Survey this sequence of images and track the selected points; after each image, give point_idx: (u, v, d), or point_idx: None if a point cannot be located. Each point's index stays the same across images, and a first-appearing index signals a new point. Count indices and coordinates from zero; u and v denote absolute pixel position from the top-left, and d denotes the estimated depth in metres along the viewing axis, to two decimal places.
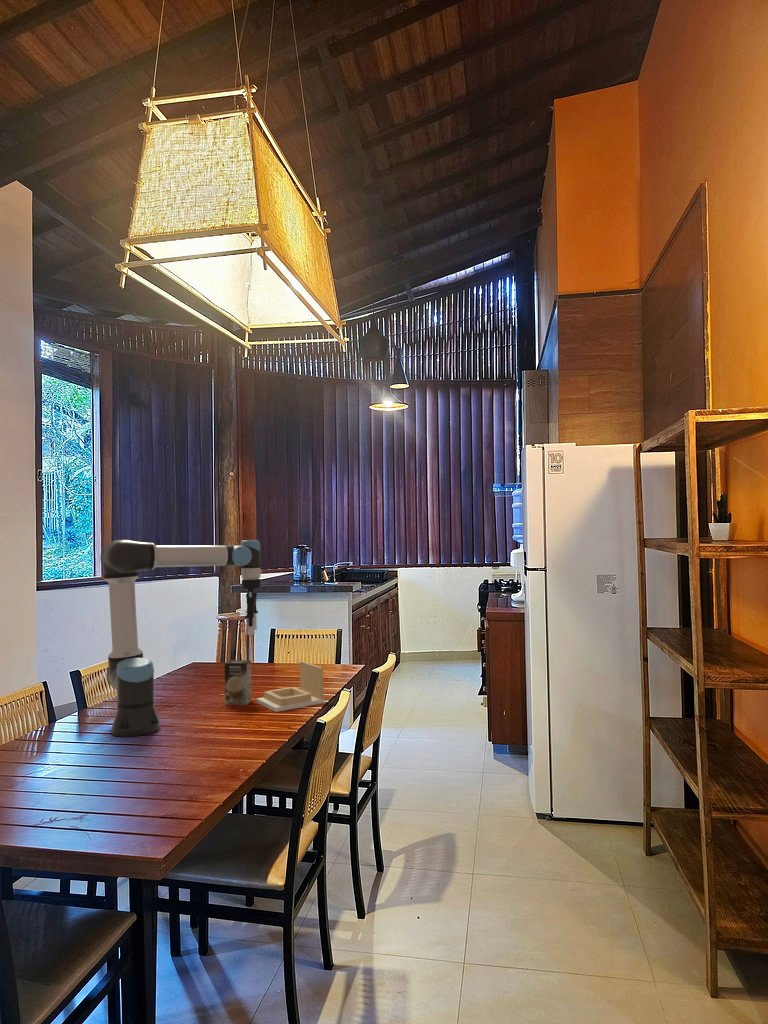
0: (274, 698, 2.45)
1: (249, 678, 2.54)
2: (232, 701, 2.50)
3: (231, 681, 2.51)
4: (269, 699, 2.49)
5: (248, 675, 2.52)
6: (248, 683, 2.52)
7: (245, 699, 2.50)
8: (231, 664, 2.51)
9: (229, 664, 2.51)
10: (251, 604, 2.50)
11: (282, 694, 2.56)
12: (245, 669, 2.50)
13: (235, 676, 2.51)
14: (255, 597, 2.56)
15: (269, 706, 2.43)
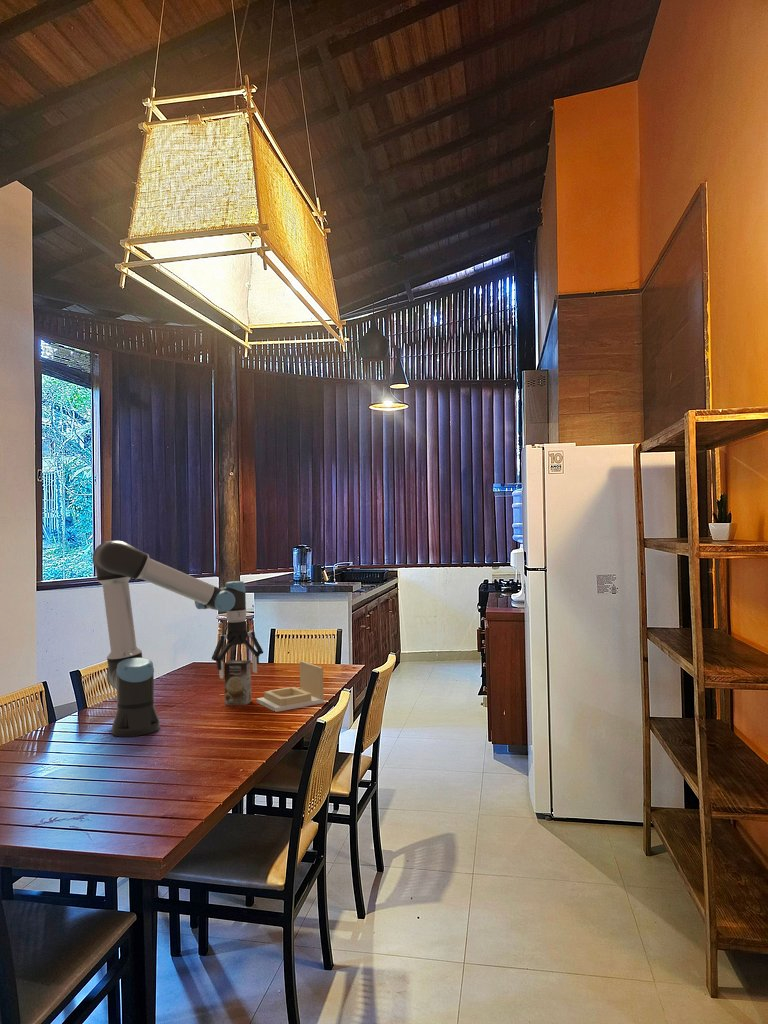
0: (274, 698, 2.45)
1: (249, 678, 2.54)
2: (232, 701, 2.50)
3: (231, 681, 2.51)
4: (269, 699, 2.49)
5: (248, 676, 2.52)
6: (248, 683, 2.52)
7: (245, 699, 2.50)
8: (231, 664, 2.51)
9: (229, 664, 2.51)
10: (217, 648, 2.49)
11: (282, 694, 2.56)
12: (245, 669, 2.50)
13: (235, 676, 2.51)
14: (232, 640, 2.52)
15: (269, 706, 2.43)
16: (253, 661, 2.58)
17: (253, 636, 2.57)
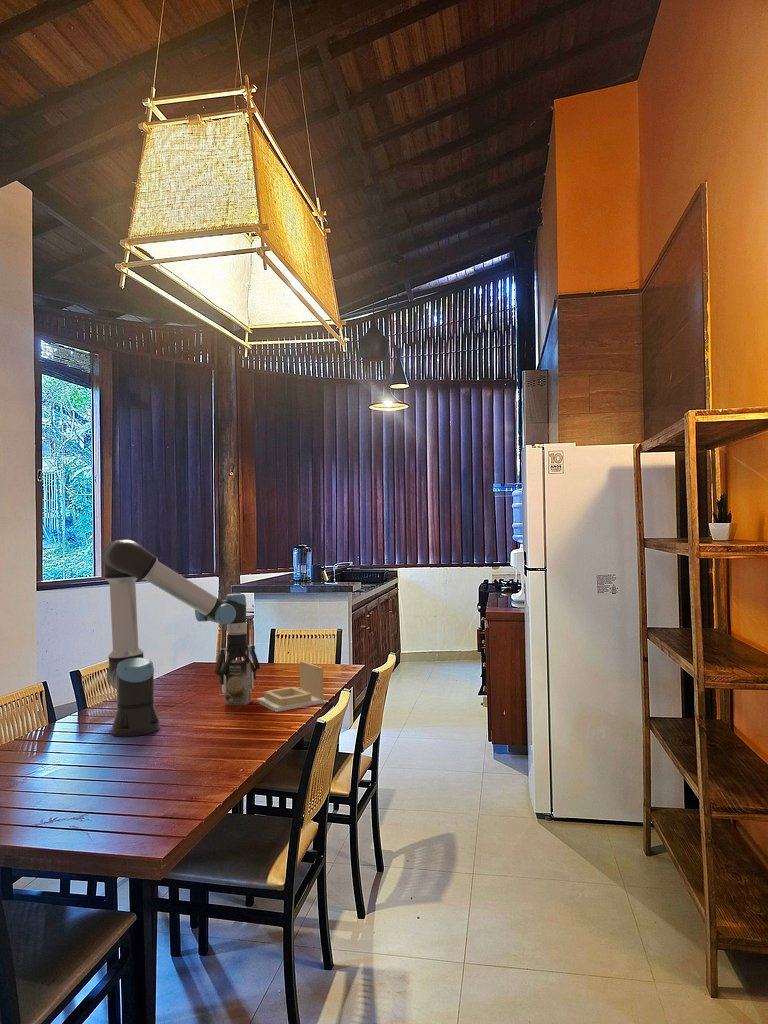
0: (274, 698, 2.45)
1: (249, 678, 2.54)
2: (232, 701, 2.50)
3: (231, 681, 2.51)
4: (269, 699, 2.49)
5: (248, 675, 2.52)
6: (248, 683, 2.52)
7: (245, 698, 2.50)
8: (231, 664, 2.51)
9: None
10: (218, 662, 2.49)
11: (282, 694, 2.56)
12: (245, 669, 2.50)
13: (235, 676, 2.51)
14: (233, 653, 2.51)
15: (269, 706, 2.43)
16: None
17: (253, 650, 2.56)
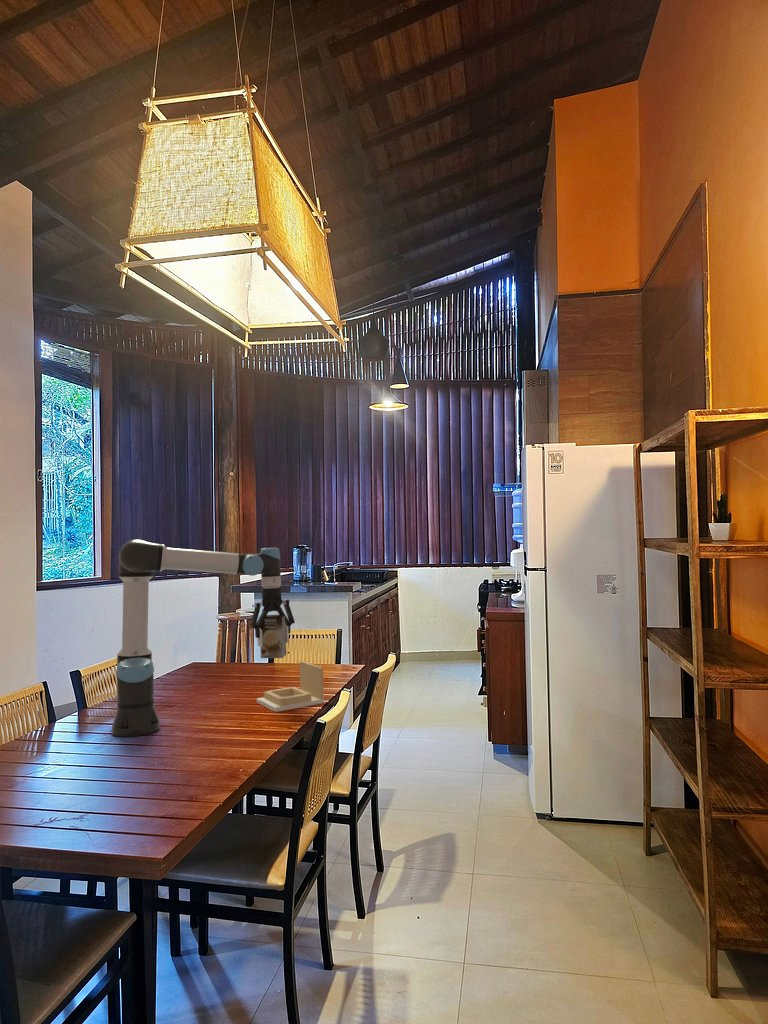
0: (274, 698, 2.45)
1: (284, 632, 2.53)
2: (268, 654, 2.50)
3: (266, 635, 2.50)
4: (269, 699, 2.49)
5: (283, 629, 2.52)
6: (283, 637, 2.52)
7: (282, 652, 2.49)
8: (266, 617, 2.50)
9: None
10: (254, 615, 2.48)
11: (282, 694, 2.56)
12: (281, 622, 2.49)
13: (270, 630, 2.50)
14: (268, 607, 2.50)
15: (269, 706, 2.43)
16: None
17: (287, 604, 2.56)
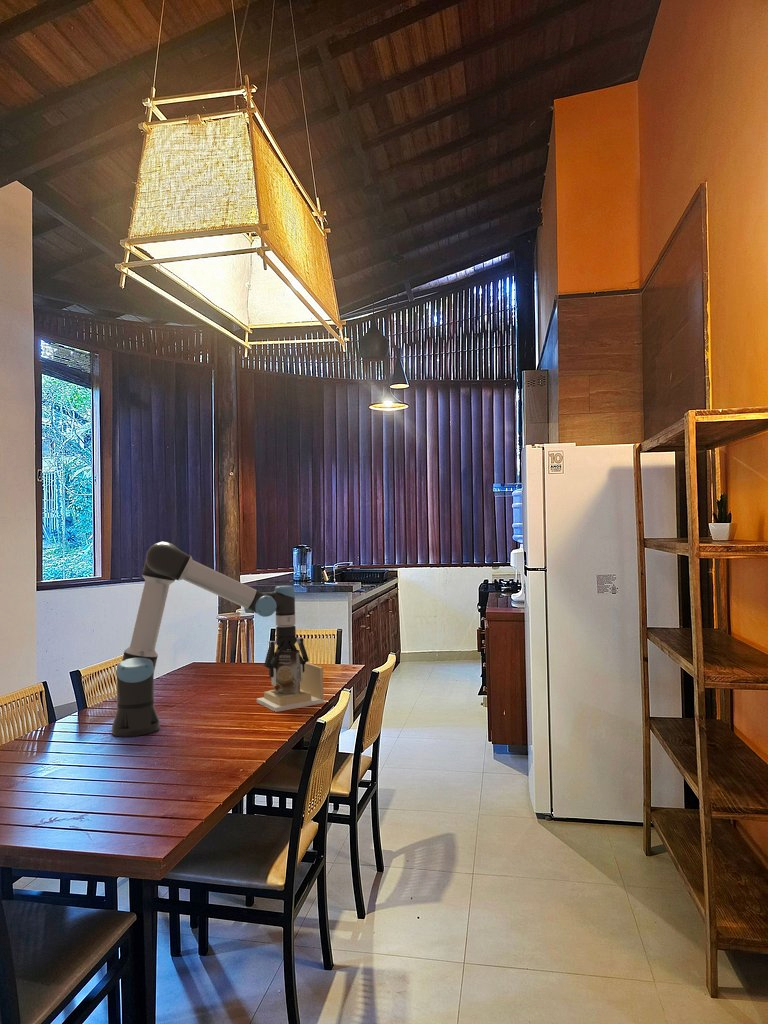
0: (274, 698, 2.45)
1: (298, 667, 2.51)
2: (281, 690, 2.48)
3: (280, 671, 2.48)
4: (269, 699, 2.49)
5: (297, 665, 2.50)
6: (297, 672, 2.50)
7: (295, 688, 2.47)
8: (281, 653, 2.49)
9: None
10: (268, 654, 2.47)
11: (282, 694, 2.56)
12: (295, 658, 2.48)
13: (284, 666, 2.48)
14: (282, 646, 2.49)
15: (269, 706, 2.43)
16: None
17: (301, 642, 2.54)
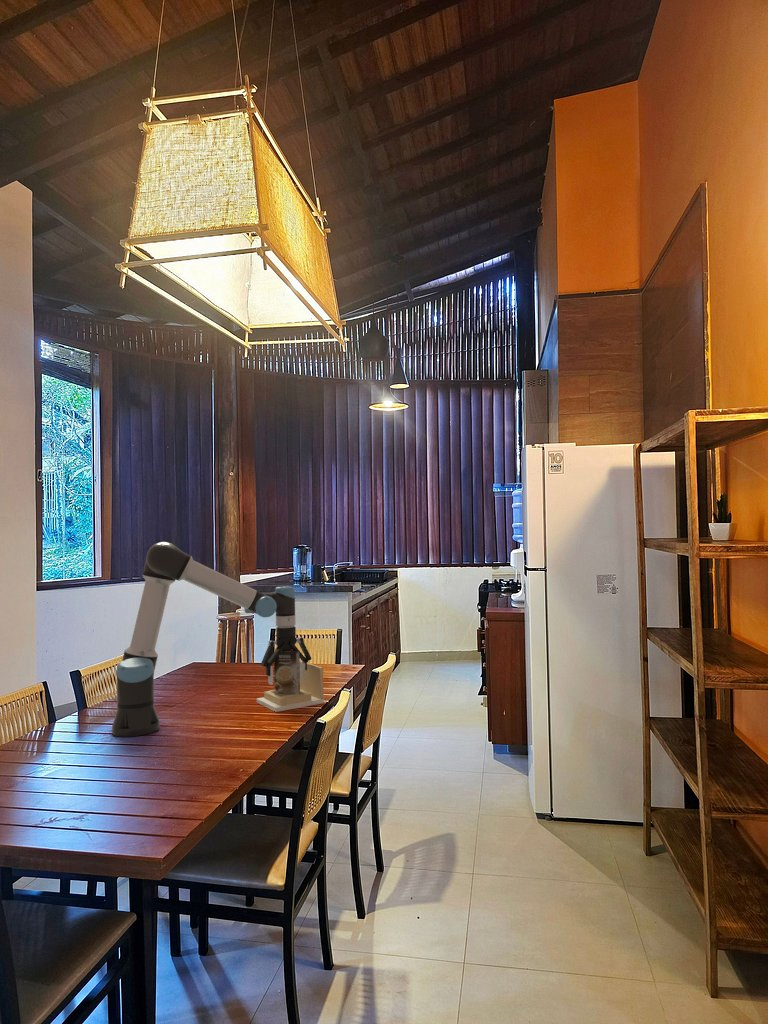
0: (274, 698, 2.45)
1: (298, 667, 2.51)
2: (281, 690, 2.48)
3: (280, 671, 2.48)
4: (269, 699, 2.49)
5: (297, 665, 2.50)
6: (297, 672, 2.50)
7: (295, 688, 2.47)
8: (281, 653, 2.49)
9: None
10: (267, 653, 2.46)
11: (282, 694, 2.56)
12: (295, 658, 2.48)
13: (285, 666, 2.48)
14: (282, 646, 2.49)
15: (269, 706, 2.43)
16: (301, 667, 2.55)
17: (302, 642, 2.54)
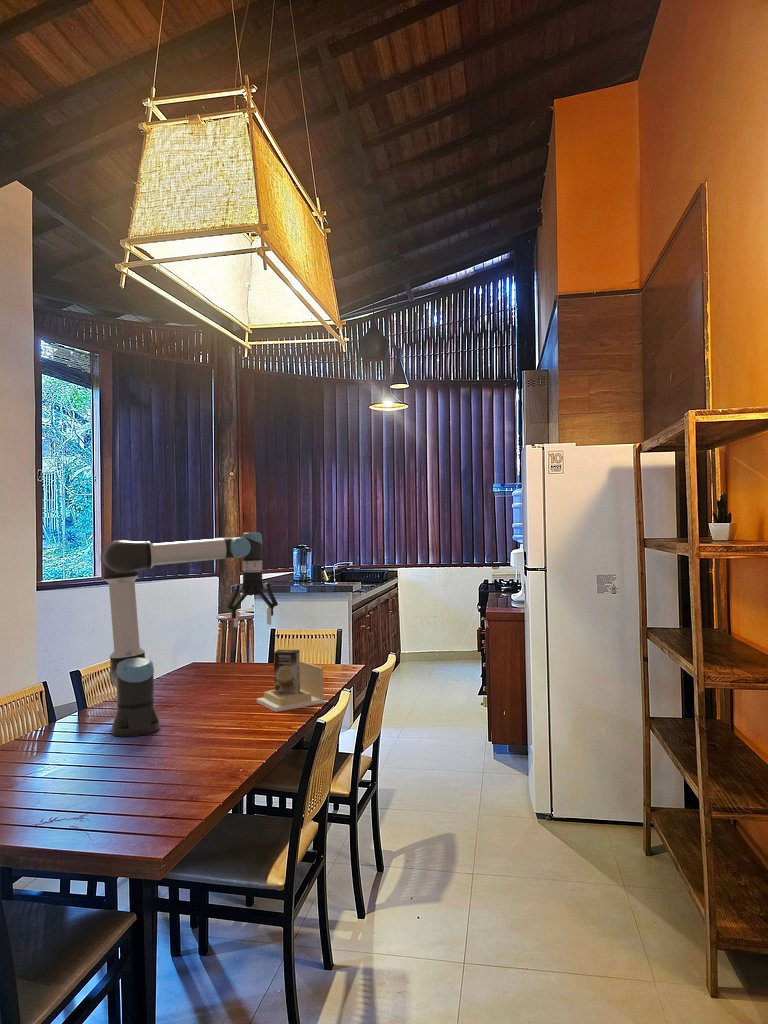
0: (274, 698, 2.45)
1: (298, 667, 2.51)
2: (281, 690, 2.48)
3: (280, 671, 2.48)
4: (269, 699, 2.49)
5: (297, 665, 2.50)
6: (297, 672, 2.50)
7: (295, 688, 2.47)
8: (281, 653, 2.49)
9: (279, 653, 2.49)
10: (232, 596, 2.51)
11: (282, 694, 2.56)
12: (295, 658, 2.48)
13: (285, 666, 2.48)
14: (248, 590, 2.53)
15: (269, 706, 2.43)
16: (267, 613, 2.59)
17: (268, 588, 2.58)
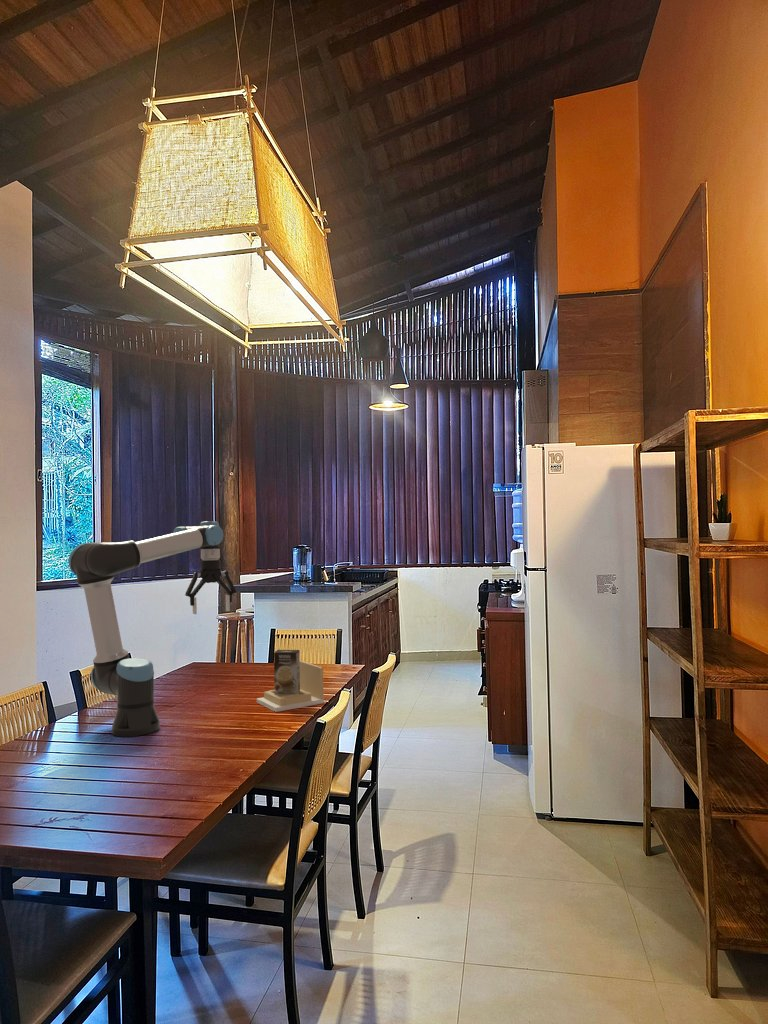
0: (274, 698, 2.45)
1: (298, 667, 2.51)
2: (281, 690, 2.48)
3: (280, 671, 2.48)
4: (269, 699, 2.49)
5: (297, 665, 2.50)
6: (297, 672, 2.50)
7: (295, 688, 2.47)
8: (281, 653, 2.49)
9: (279, 653, 2.49)
10: (190, 584, 2.57)
11: (282, 694, 2.56)
12: (295, 658, 2.48)
13: (285, 666, 2.48)
14: (206, 578, 2.59)
15: (269, 706, 2.43)
16: (226, 600, 2.65)
17: (226, 575, 2.64)
